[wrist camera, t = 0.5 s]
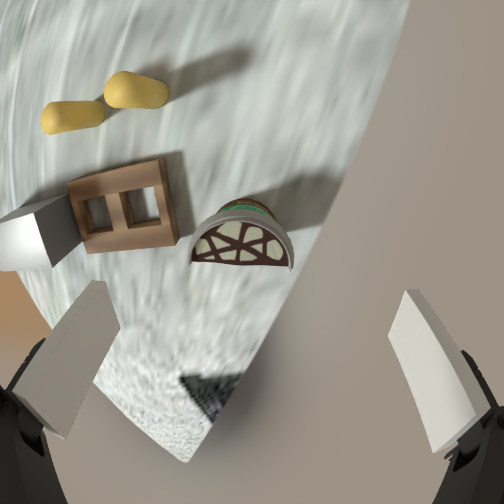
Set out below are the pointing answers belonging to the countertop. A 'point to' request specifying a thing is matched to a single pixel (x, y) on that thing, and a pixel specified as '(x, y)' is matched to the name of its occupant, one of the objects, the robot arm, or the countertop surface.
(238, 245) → the food container
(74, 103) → the peg
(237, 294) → the countertop surface
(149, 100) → the peg
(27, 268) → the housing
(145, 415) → the countertop surface
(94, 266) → the countertop surface
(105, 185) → the socket board
